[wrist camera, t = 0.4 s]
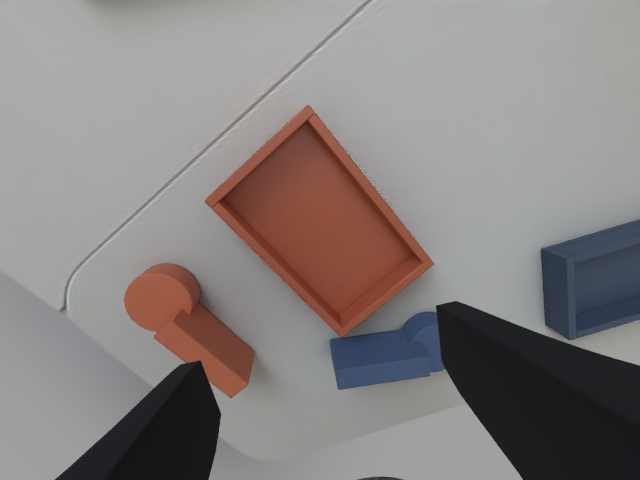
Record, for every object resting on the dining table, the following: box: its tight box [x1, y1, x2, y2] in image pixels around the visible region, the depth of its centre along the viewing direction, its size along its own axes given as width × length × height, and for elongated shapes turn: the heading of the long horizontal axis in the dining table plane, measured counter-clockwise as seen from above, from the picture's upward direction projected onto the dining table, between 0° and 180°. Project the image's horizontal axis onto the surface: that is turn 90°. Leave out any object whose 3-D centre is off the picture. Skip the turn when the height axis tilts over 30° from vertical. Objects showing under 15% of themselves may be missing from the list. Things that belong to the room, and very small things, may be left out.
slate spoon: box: [330, 312, 445, 390], centre depth 19 cm, size 8×4×3 cm, turn 96°
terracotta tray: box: [205, 105, 434, 338], centre depth 17 cm, size 11×7×2 cm, turn 41°
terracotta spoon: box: [124, 264, 254, 398], centre depth 17 cm, size 8×4×3 cm, turn 41°
